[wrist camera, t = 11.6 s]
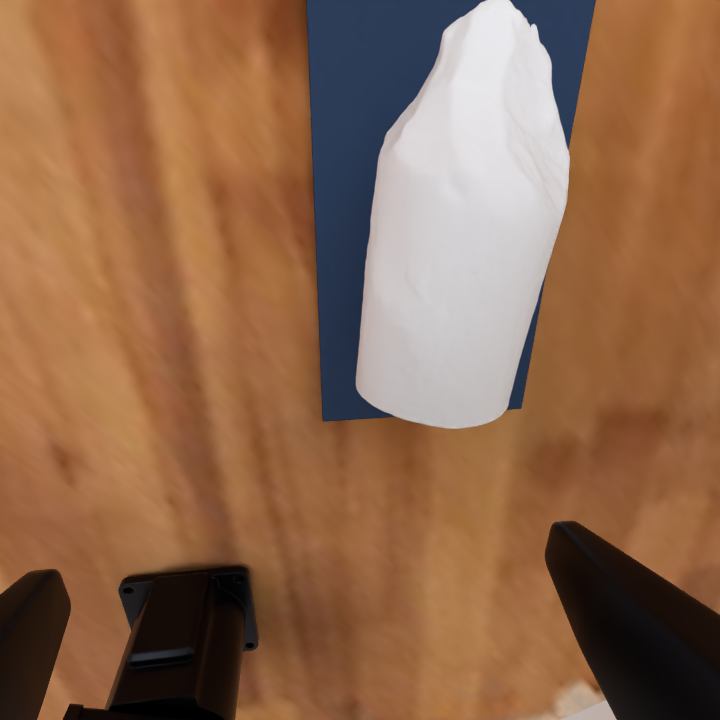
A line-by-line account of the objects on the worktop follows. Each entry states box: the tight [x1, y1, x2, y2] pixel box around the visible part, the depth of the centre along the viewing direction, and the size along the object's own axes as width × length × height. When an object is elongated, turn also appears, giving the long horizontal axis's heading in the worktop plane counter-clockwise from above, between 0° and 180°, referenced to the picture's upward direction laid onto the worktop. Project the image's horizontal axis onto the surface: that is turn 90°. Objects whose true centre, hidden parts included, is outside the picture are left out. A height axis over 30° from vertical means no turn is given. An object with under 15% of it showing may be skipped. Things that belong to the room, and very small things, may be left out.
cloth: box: [306, 0, 596, 421], centre depth 17 cm, size 18×10×1 cm, turn 0°
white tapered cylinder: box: [356, 0, 570, 429], centre depth 15 cm, size 6×12×6 cm, turn 175°
